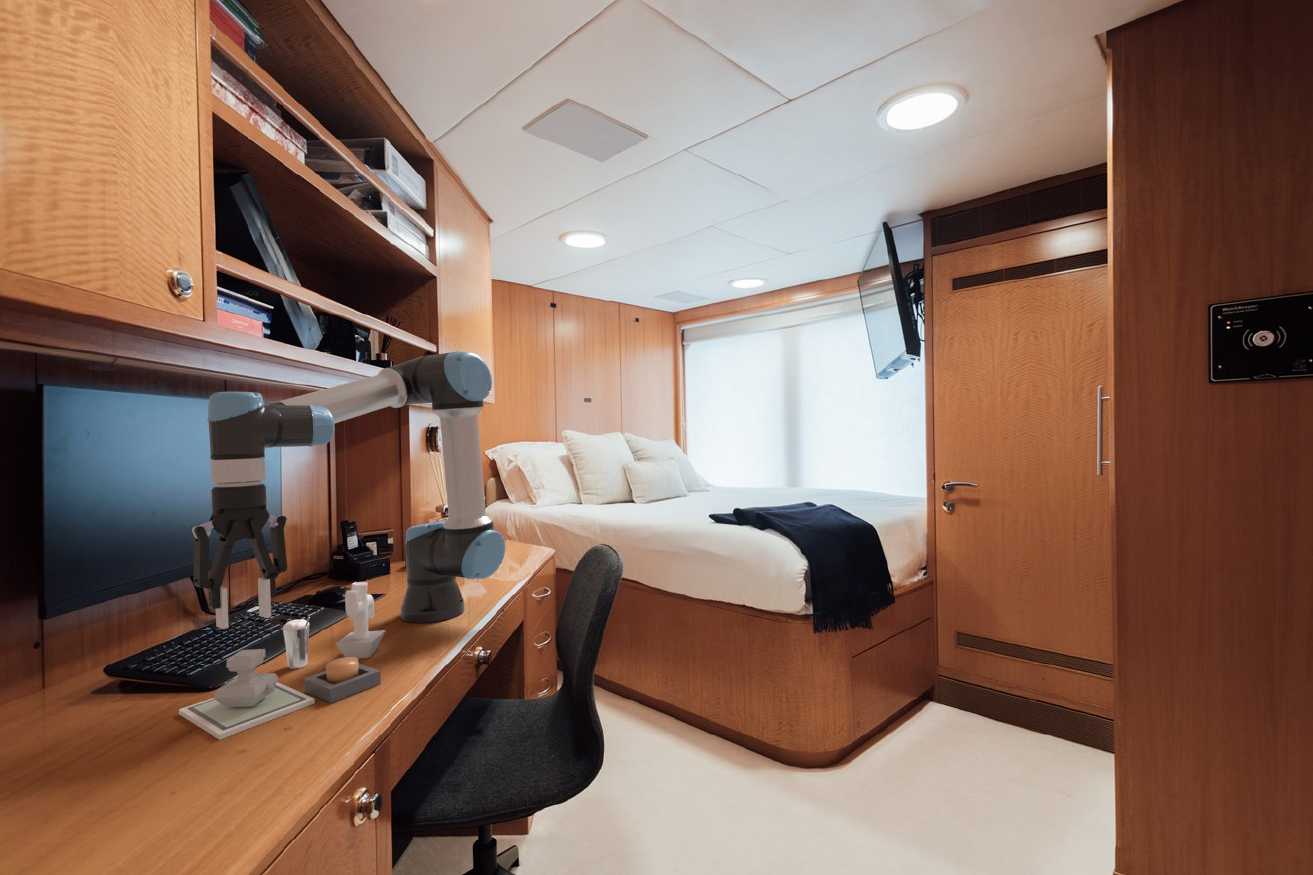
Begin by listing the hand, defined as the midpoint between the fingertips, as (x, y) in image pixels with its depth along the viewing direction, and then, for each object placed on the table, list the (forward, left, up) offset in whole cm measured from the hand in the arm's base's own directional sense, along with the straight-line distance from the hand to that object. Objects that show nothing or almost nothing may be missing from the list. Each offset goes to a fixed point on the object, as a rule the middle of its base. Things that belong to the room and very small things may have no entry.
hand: (244, 621), depth 101 cm
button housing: (-13, +6, -15) cm, 21 cm away
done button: (-13, +6, -13) cm, 19 cm away
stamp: (0, 0, -14) cm, 14 cm away
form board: (0, 0, -15) cm, 15 cm away
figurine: (-24, -7, -15) cm, 29 cm away
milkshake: (-14, -12, -15) cm, 24 cm away
